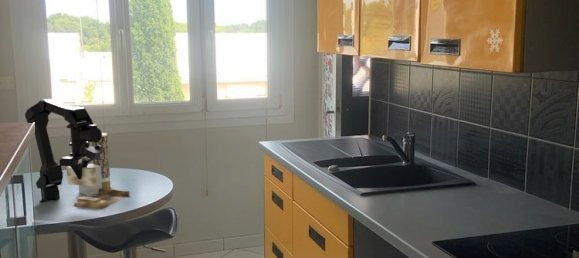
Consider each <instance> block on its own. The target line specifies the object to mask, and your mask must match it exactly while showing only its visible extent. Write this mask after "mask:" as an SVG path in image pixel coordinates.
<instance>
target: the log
mask: <svg viewBox="0 0 579 258" xmlns="http://www.w3.org/2000/svg"><path fill="white" fill-rule="evenodd" d="M101 133H102V137H101V139H100V141H99V142H97V143H94V142H91V146H92V147H93V146H94V147H95V146H97V145H100V146H102V152H103V153H102V154H100V157H99V158H97V159H95V160H92V164H95V165H99V166H101V178H102V188H104V189H111V176H110V175H111V172H110V158H109V157H110V156H109V137H108V133H107V132H101Z"/></svg>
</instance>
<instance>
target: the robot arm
mask: <svg viewBox="0 0 579 258" xmlns="http://www.w3.org/2000/svg"><path fill="white" fill-rule="evenodd" d="M52 113H53V114H56V115H58V116H61V117H63V118H64V121H66V122H67V123H68V124H67V126H66V128H67V129H70V131H69V132H70V142H69V143H68V146H70V147H71V152H70V153H69V156H68V155H67V156H63V157H62V158H59V161H58V162H56V161H55V158H54V154H53V149H52V145H51V141H50V137H49V133H48V128H47V127H48V124H49V121H50V119H49V118H50V117H49V116H50V115H51V114H52ZM24 117H25V119H26V122H27V124H28V123H33V122H35V133H34V136H35V141H36V146H37V149H38V154H39V158H40V162H41V167H40V168H39V178H38V179H37V180H36V182H35V185H36V187H37V189H40V193H41V195H40V197H41V199H40V200H38V202H39V203H45V202H54V201H58V200H60V197H61V196H60V189H59V186H62V183H63V178H64V172H63V169H62V167H68V166H70V167H71V168H72V169H73V171H74V172H75V174H76V176H77V177H78V179H81V177H82V167H87V166H88V164H91V162H93V160H95V159H97V158H99V157H100V154H102V153H103V152H102V146H100V145H97V146H95V147H94V146H93V147H92V145H90V144H91V143H92V142H94V143H97V142H99V141H100V139H101V137H102V133H103V132H102V130H101V129H100V128H99V127H98V125H97V124H94V122H93V119H92V117H91V116H90V113H89V112H88V110H87V109H86V108H85V107H80V106H70V105H67V104H63V103H61V102H58V101H56V100H54V99H52V98H46V99H45V98H44V99H41V100H39V101H38V102H37V103H35V104H34V105H32V106H30V107H29V108H28V109H27V110H26V112H25V114H24ZM58 163H59V164H58Z"/></svg>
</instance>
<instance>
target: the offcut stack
mask: <svg viewBox="0 0 579 258" xmlns="http://www.w3.org/2000/svg"><path fill="white" fill-rule="evenodd" d="M73 203H74V204H73V205H74V206H73V207H78V206H84V207H83V208H88V207H93V208H92V209H98V208H104V207H106V206H108V204H107V201H105V200H101V199H100V198H93V196H86V195H82V196H80V197H77V198H76V202H73ZM108 207H109V206H108ZM106 208H107V207H106ZM104 209H105V208H104Z"/></svg>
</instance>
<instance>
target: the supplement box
mask: <svg viewBox="0 0 579 258" xmlns="http://www.w3.org/2000/svg"><path fill="white" fill-rule="evenodd" d="M87 167H88V168H96V183H97V185H96V186H84V185H78V193H79V194H81V195H82V196H86V197H90V196H95V195H97V194H99V189H100V188H102V178H101V166H99V165H95V164H93V163H89V164H88V166H87Z"/></svg>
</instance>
